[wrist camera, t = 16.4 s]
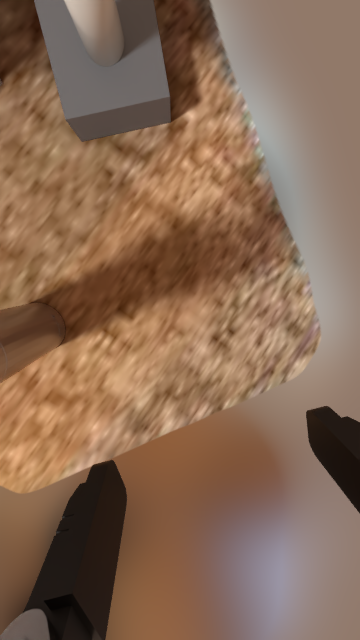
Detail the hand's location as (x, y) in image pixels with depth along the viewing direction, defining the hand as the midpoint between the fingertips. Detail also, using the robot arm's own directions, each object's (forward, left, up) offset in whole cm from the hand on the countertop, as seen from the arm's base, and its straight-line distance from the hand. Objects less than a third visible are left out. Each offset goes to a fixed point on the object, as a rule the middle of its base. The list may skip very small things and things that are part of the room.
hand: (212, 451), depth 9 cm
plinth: (-4, +36, -32) cm, 48 cm away
